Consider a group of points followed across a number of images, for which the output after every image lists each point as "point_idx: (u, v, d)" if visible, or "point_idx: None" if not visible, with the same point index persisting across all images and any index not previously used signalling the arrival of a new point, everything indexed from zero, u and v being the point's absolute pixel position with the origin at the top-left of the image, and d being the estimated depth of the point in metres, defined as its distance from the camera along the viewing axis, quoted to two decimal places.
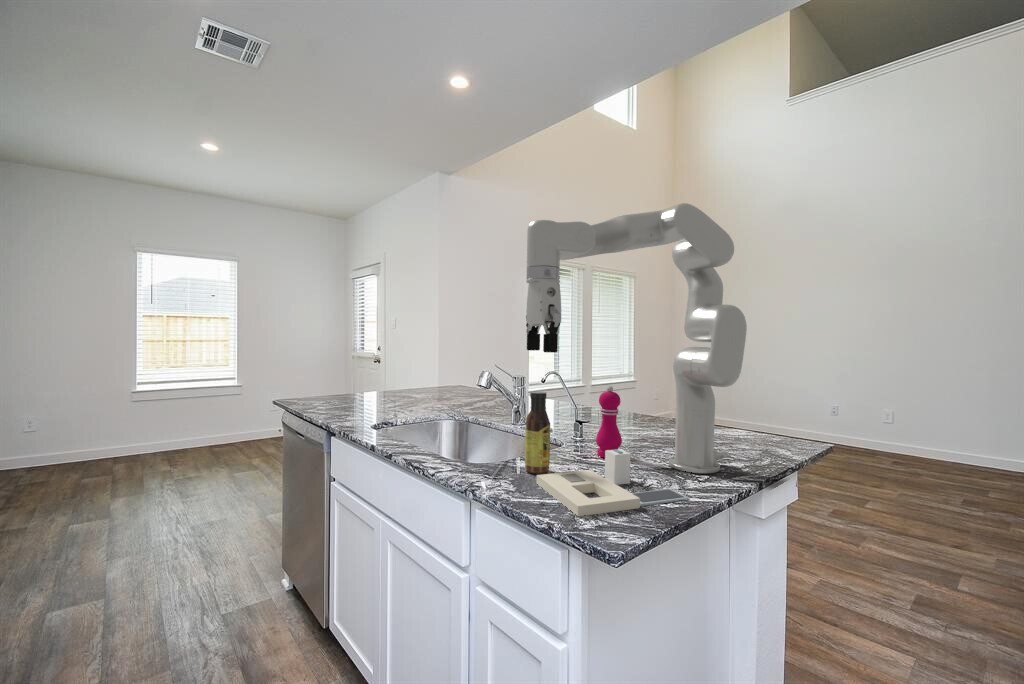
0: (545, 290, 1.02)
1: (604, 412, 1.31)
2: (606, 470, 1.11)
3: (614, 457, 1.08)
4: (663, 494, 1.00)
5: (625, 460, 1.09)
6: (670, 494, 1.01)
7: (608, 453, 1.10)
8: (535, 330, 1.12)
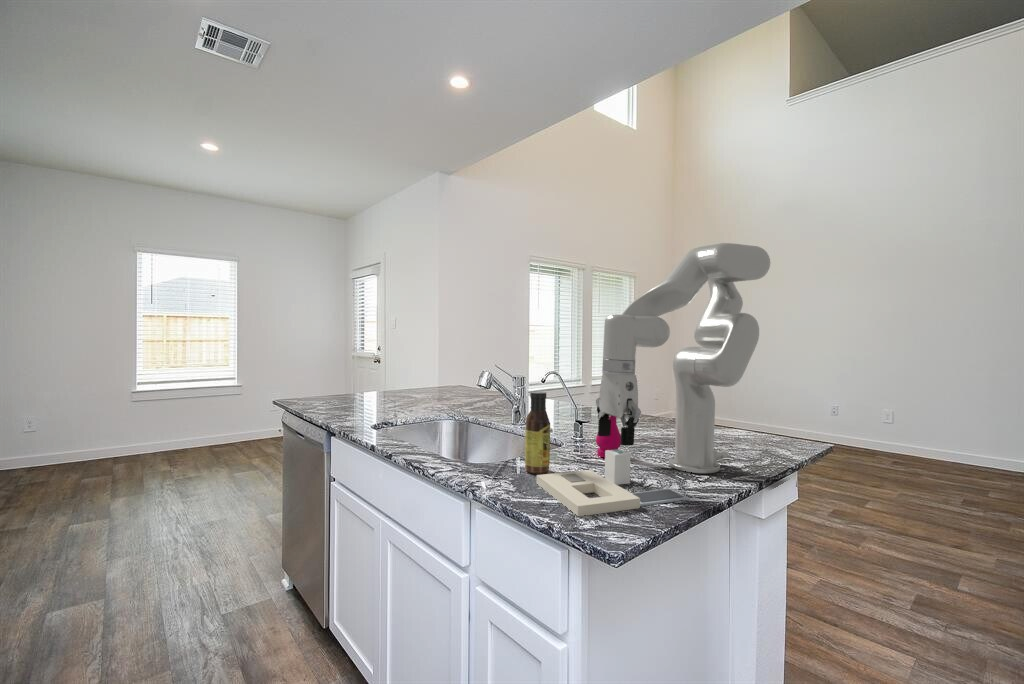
0: (624, 385, 1.05)
1: None
2: (606, 470, 1.11)
3: (614, 457, 1.08)
4: (663, 494, 1.00)
5: (625, 460, 1.09)
6: (670, 494, 1.01)
7: (608, 453, 1.10)
8: (606, 416, 1.15)
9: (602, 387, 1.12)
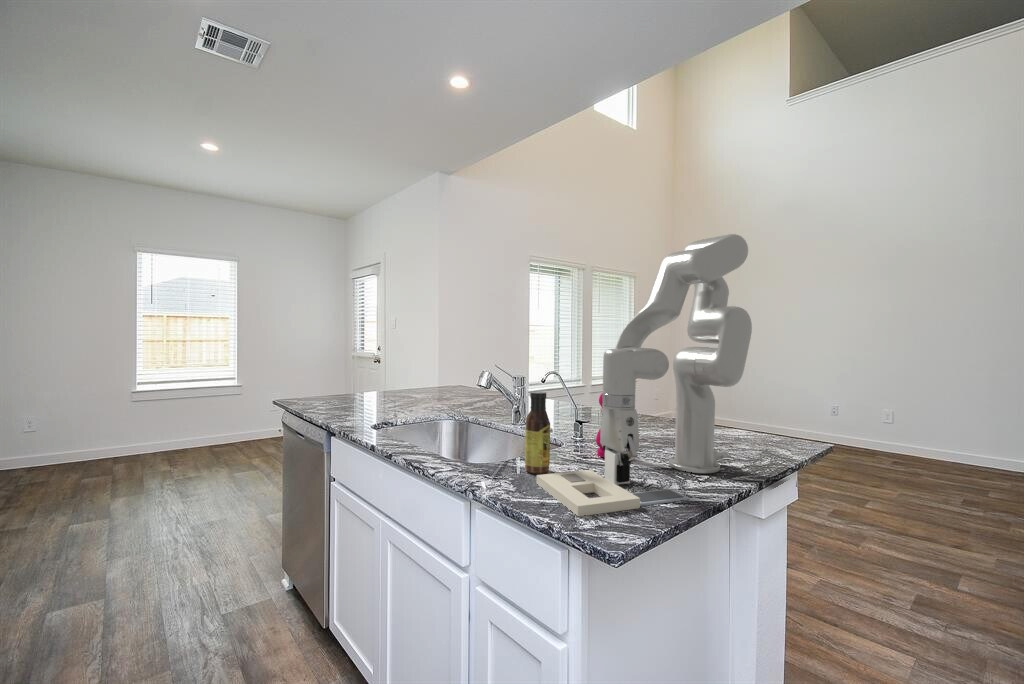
0: (624, 420, 1.05)
1: None
2: (605, 470, 1.11)
3: (614, 457, 1.08)
4: (663, 494, 1.00)
5: None
6: (670, 494, 1.00)
7: (608, 453, 1.10)
8: None
9: (603, 420, 1.12)
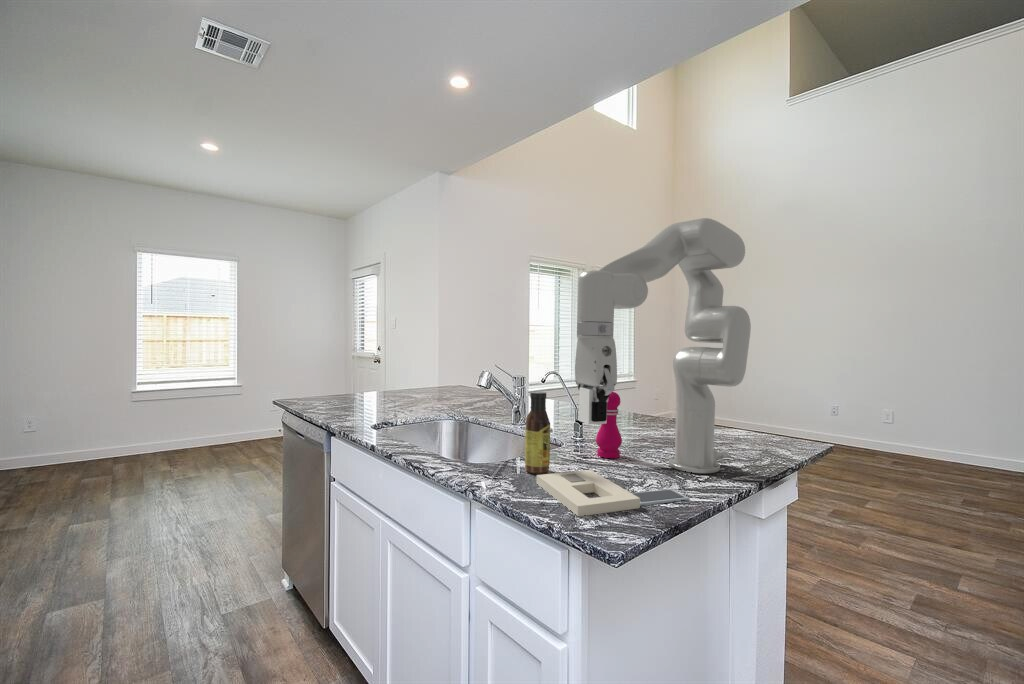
0: (600, 349, 0.93)
1: None
2: (580, 409, 0.98)
3: (589, 392, 0.95)
4: (663, 494, 1.00)
5: None
6: (670, 494, 1.00)
7: (582, 390, 0.97)
8: None
9: (577, 354, 0.99)
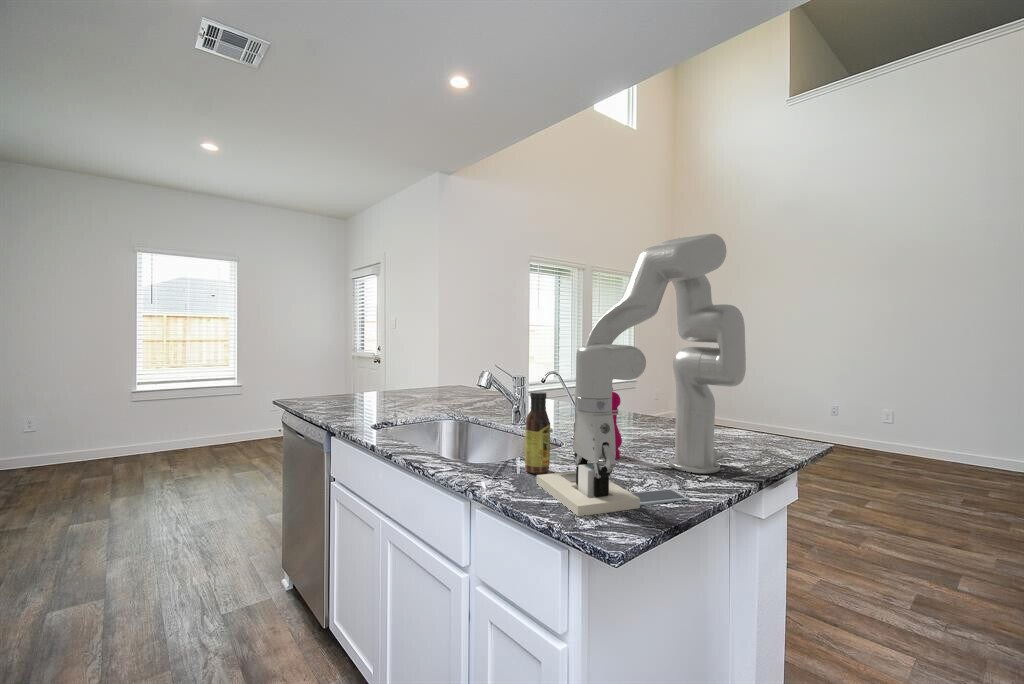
0: (598, 427, 0.93)
1: None
2: (579, 487, 0.99)
3: (587, 473, 0.95)
4: (664, 494, 1.00)
5: None
6: (670, 494, 1.00)
7: (581, 468, 0.98)
8: (585, 461, 1.02)
9: (576, 427, 1.00)
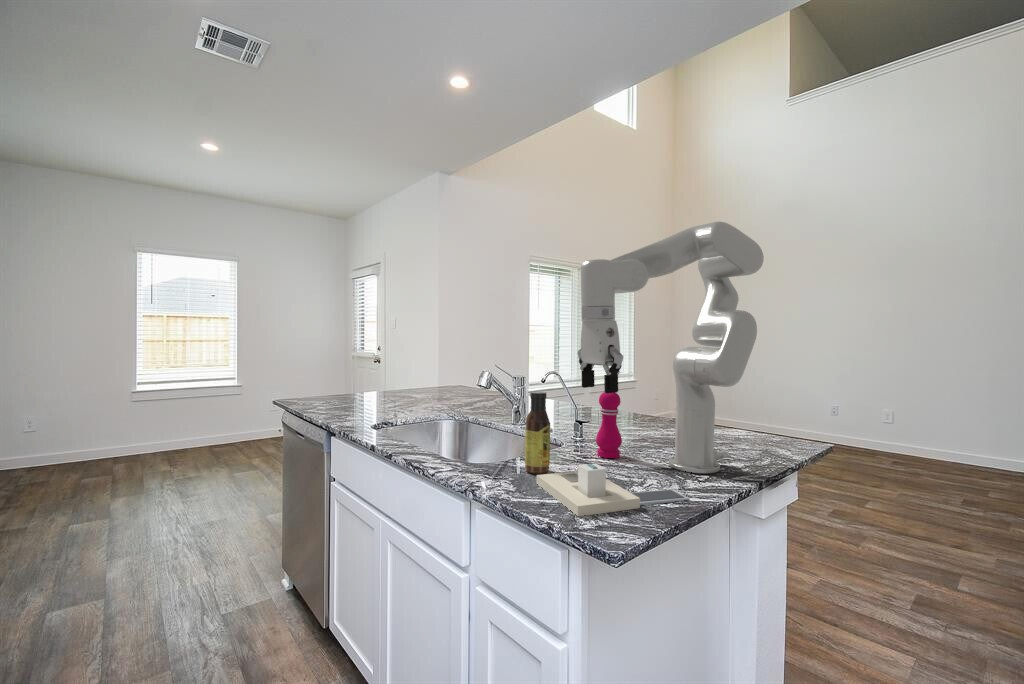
0: (604, 331, 1.02)
1: (604, 412, 1.31)
2: (579, 487, 0.99)
3: (587, 473, 0.95)
4: (664, 494, 1.00)
5: (599, 477, 0.96)
6: (670, 494, 1.00)
7: (581, 468, 0.98)
8: (589, 367, 1.12)
9: (583, 337, 1.08)
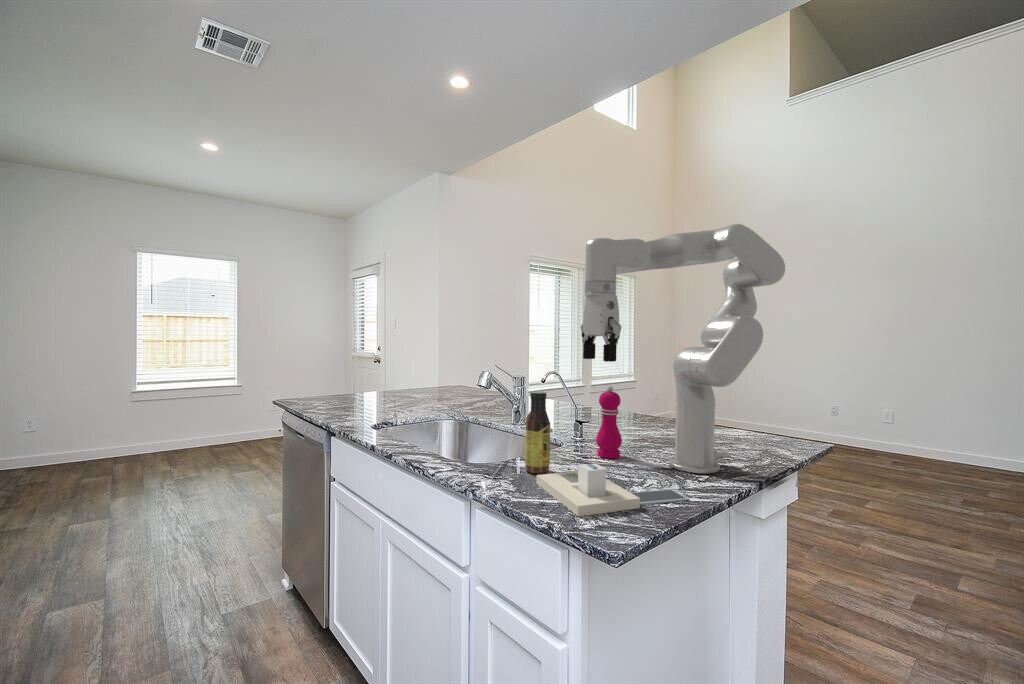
0: (605, 304, 1.10)
1: (604, 412, 1.31)
2: (579, 487, 0.99)
3: (587, 473, 0.95)
4: (664, 494, 1.00)
5: (599, 477, 0.96)
6: (670, 494, 1.00)
7: (581, 468, 0.98)
8: (591, 340, 1.19)
9: (585, 311, 1.16)
